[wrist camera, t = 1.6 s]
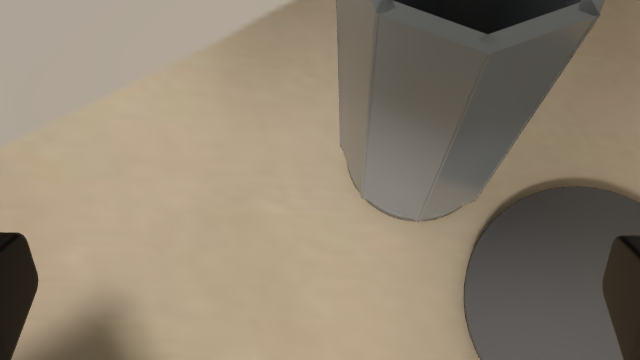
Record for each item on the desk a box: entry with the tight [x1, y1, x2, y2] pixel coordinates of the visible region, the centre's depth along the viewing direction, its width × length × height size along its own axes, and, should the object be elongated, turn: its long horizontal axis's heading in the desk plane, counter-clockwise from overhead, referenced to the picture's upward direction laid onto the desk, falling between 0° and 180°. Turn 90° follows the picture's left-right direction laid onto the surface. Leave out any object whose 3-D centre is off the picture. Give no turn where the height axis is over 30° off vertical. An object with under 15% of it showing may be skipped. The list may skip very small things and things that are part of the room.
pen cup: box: [336, 0, 604, 222], centre depth 19 cm, size 6×6×13 cm
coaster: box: [464, 187, 640, 360], centre depth 23 cm, size 9×9×1 cm
